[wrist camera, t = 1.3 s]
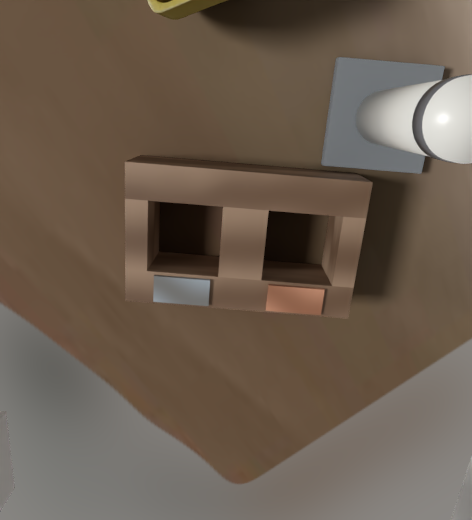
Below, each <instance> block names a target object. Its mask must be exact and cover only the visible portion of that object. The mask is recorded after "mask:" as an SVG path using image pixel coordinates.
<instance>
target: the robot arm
mask: <svg viewBox="0 0 472 520" xmlns="http://www.w3.org/2000/svg"><path fill="white" fill-rule="evenodd" d="M14 488H15V486H14V478H13V469H12V460H11V451H10V441H9V433H8V423H7V415H6V412H4V411H0V511H1V509H2V508H3V506H4V504H5V503H6V501H7V500H8V498H9V496H10V494H11V493H12V491H13V490H14ZM451 520H472V457H471V460H470V463H469V466H468V469H467V472H466V475H465V479H464V482H463V485H462V487H461V491H460V494H459V497H458V500H457V503H456V506H455V509H454V512H453V515H452V518H451Z"/></svg>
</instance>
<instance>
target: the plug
mask: <svg viewBox="0 0 472 520" xmlns="http://www.w3.org/2000/svg"><path fill="white" fill-rule="evenodd" d="M356 126H357V129H358V132H359V133H360V135H361V136H362V137H363V138H364V139H365V140H366V141H368V142H370V143H373V144H377V145H382V146H386V147H390V148H395V149H399V150H403V151H408V152H412V153H416V154H421V155H425V156H429V157H432V158H435V159H438V160H442V161H446V162H452V163H461V164H468V163H472V74H469V75H461V76H456V77H451V78H447V79H444V80H439V81H433V82H427V83H421V84H415V85H410V86H404V87H398V88H392V89H386V90H380V91H376V92H374V93H372V94H370V95H369V96H367V97H366V98H365V99H364V100H363V101H362V103H361V104H360V106H359V108H358V110H357V114H356Z"/></svg>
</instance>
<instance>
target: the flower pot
mask: <svg viewBox="0 0 472 520" xmlns="http://www.w3.org/2000/svg"><path fill="white" fill-rule="evenodd" d="M147 1H148V3H149V6H150V7H151V9H152V10H153V11H154V12H155V13H158V14H160V15H162V16H164V17H167V18H169V19H180V18H183V17H186V16H188V15H191V14H193V13H196V12H198V11H201V10H203V9H206V8H209V7H211V6H214V5H216V4H219V3H222V2H224V1H227V0H147Z"/></svg>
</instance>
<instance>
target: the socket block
mask: <svg viewBox="0 0 472 520" xmlns="http://www.w3.org/2000/svg"><path fill="white" fill-rule="evenodd" d="M372 185H373V182H371V181H370V180H368V179H366V178H364V177H362V176H360V175H358V174H357V173H348V172H336V171H324V170H312V169H300V168H288V167H276V166H264V165H252V164H240V163H228V162H216V161H204V160H192V159H180V158H168V157H156V156H144V155H140V156H138V157H135V158H133V159H130V160H128V161H125V301H135V302H147V303H160V304H172V305H185V306H197V307H209V308H222V309H234V310H247V311H259V312H272V313H284V314H297V315H309V316H322V317H334V318H346V319H348V316H349V310H350V305H351V299H352V294H353V288H354V283H355V278H356V272H357V267H358V261H359V256H360V250H361V245H362V239H363V234H364V228H365V223H366V217H367V212H368V207H369V201H370V196H371V190H372ZM160 202H171V203H183V204H195V205H207V206H219V207H223V216H222V230H221V244H220V257H219V256H207V255H194V254H182V253H170V252H159V229H160ZM269 211H280V212H292V213H304V214H317V215H329V218H328V225H327V231H326V238H325V244H324V251H323V257H322V264H321V265H317V264H305V263H293V262H280V261H268V260H264V250H265V241H266V231H267V222H268V213H269Z"/></svg>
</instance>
